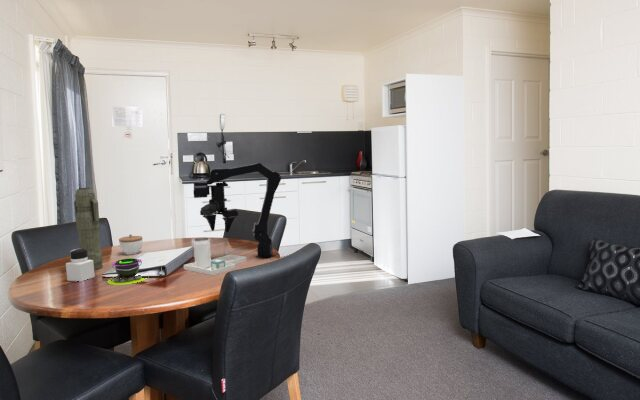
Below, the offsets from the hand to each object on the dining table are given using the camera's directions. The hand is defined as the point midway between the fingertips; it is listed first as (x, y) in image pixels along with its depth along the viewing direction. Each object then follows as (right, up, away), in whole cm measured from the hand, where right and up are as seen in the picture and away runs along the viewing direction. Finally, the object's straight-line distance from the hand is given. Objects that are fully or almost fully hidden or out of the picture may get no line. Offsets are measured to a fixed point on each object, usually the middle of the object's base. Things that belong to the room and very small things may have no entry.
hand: (219, 231), depth 210 cm
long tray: (-1, -15, -15) cm, 21 cm away
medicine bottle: (-51, -18, -22) cm, 58 cm away
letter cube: (+3, -15, -19) cm, 24 cm away
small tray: (+5, -14, -5) cm, 15 cm away
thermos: (-54, -16, -6) cm, 57 cm away
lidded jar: (-48, -13, +22) cm, 54 cm away
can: (-4, -14, -12) cm, 19 cm away
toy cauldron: (-31, -18, -25) cm, 43 cm away
